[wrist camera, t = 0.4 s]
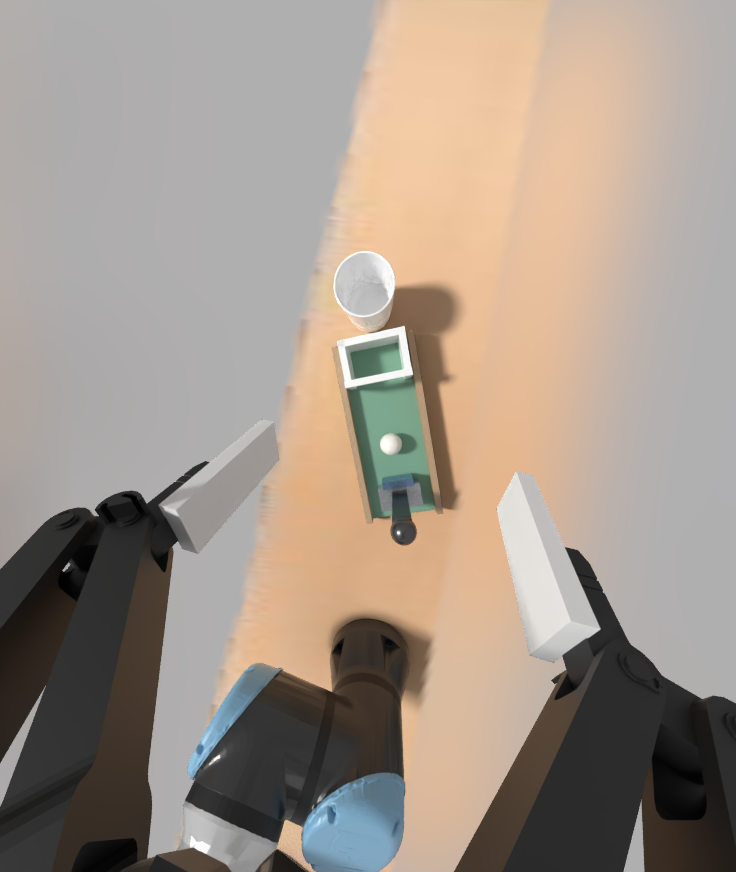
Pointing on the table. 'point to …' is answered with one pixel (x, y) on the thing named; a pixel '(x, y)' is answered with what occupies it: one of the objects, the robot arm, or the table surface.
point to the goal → (371, 342)
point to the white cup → (365, 289)
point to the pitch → (388, 426)
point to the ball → (390, 444)
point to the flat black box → (278, 864)
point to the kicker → (401, 505)
